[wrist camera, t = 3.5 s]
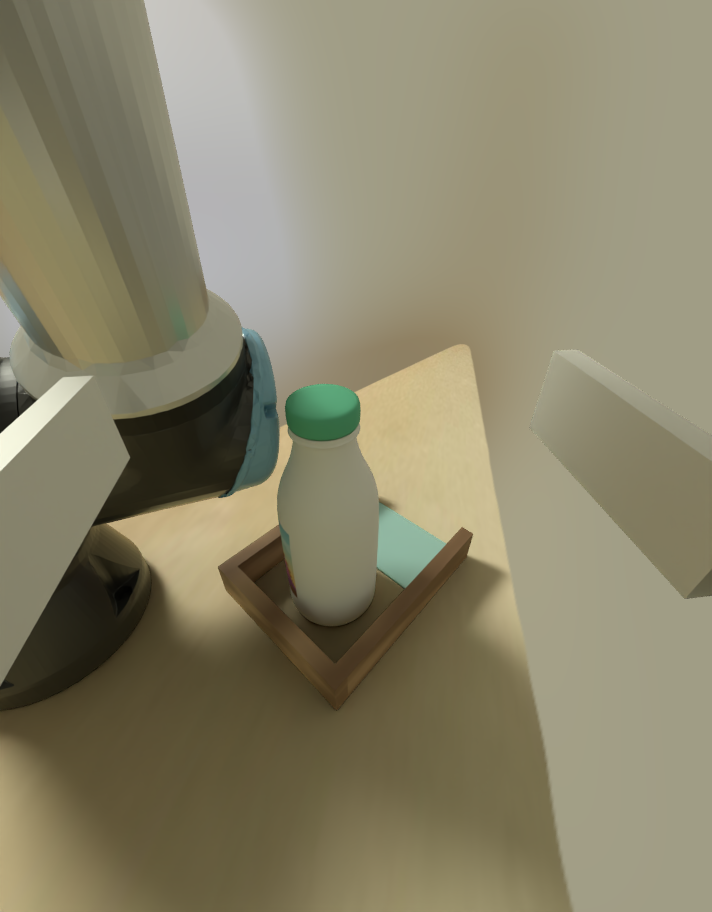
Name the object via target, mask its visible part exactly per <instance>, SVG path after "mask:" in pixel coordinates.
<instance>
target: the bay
mask: <svg viewBox="0 0 712 912" xmlns="http://www.w3.org/2000/svg"><path fill="white" fill-rule="evenodd" d="M472 536H473V533H471V532H469V531H468V530H466V529H464V528H461V529H460V530H459V531H458V532H457V533H456V534H455V535H454V536H453V537H452V539H451V540H450V541H449V542H448V543H447V544H446V545H445V546H444V547H443V548H442V549H441V550H440V551H439V553H438V554H437V555H436V556H435V557H434V558H433V559H432V560H431V561H430V562H429V563H428V564H427V566H426V567H425V568H424V569H423V570H422V571H421V572H420V573H419V574H418V575H417V576H416V577H415V578H414V580H413V581H412V582H411V583H410V584H409V585H408V586H407V587H406V588H405V589H404V590H403V591H402V593H401V594H400V595H399V596H398V597H397V598H396V599H395V600H394V601H393V602H392V603H391V604H390V605H389V607H388V608H387V609H386V610H385V611H384V612H383V613H382V614H381V615H380V616H379V617H378V618H377V619H376V621H375V622H374V623H373V624H372V625H371V626H370V627H369V628H368V629H367V630H366V631H365V632H364V634H363V635H362V636H361V637H360V638H359V639H358V640H357V641H356V642H355V643H354V644H353V645H352V646H351V648H350V649H349V650H348V651H347V652H346V653H345V654H344V655H343V656H342V657H341V658H340V659H339V661H338V662H337V663H336V664H334V663H333V662H332V661H331V660H330V659H329V658H328V657H327V656H326V655H325V654H324V653H323V652H322V651H321V650H320V649H319V648H318V647H317V646H316V644H315V643H314V642H313V641H312V640H311V639H310V638H309V637H308V636H307V635H306V634H305V633H304V632H303V631H302V630H301V629H300V628H299V627H298V626H297V625H296V624H295V623H294V622H293V621H292V620H291V619H290V618H289V617H288V616H287V615H286V614H285V613H284V612H283V611H282V610H281V609H280V608H279V607H278V606H277V605H276V604H275V603H274V602H273V601H272V600H271V599H270V598H269V597H268V596H267V595H266V594H265V593H264V592H263V591H262V590H261V589H260V588H259V587H258V586H257V585H256V584H255V583H254V582H255V581H256V580H258V579H259V578H260V577H262V576H263V575H264V574H265V573H267V572H268V571H269V570H271V569H272V568H273V567H275V566H276V565H277V564H278V563H280V562H281V561H282V560H284V559H285V558H284V552H283V546H282V540H281V534H280V528H279V525H277V526H276V527H274V528H273V529H272V530H270V531H269V532H267V533H266V534H264V535H263V536H261V537H260V538H259V539H257V540H256V541H254V542H253V543H251V544H250V545H249V546H247V547H246V548H244V549H243V550H241V551H240V552H238V553H237V554H236V555H234V556H233V557H231V558H230V559H228V560H227V561H225V562H224V563H223V564H221V565H220V566H218V569H219V572H220V575H221V578H222V580H223V583H224V586H225V589H226V591H227V592H228V593H229V594H230V595H231V596H232V597H233V598H234V600H235V601H236V602H237V603H238V604H239V605H240V606H241V607H242V608H243V609H244V610H245V612H246V613H247V614H248V615H249V616H250V617H251V618H252V619H253V620H254V621H255V622H256V624H257V625H258V626H259V627H260V628H261V629H262V630H263V631H264V632H265V633H266V634H267V636H268V637H269V638H270V639H271V640H272V641H273V642H274V643H275V644H276V645H277V646H278V648H279V649H280V650H281V651H282V652H283V653H284V654H285V655H286V656H287V657H288V658H289V660H290V661H291V662H292V663H293V664H294V665H295V666H296V667H297V668H298V669H299V670H300V672H301V673H302V674H303V675H304V676H305V677H306V678H307V679H308V680H309V681H310V683H311V684H312V685H313V686H314V687H315V688H316V689H317V690H318V691H319V692H320V693H321V695H322V696H323V697H324V698H325V699H326V700H327V701H328V702H329V703H330V704H331V705H332V707H333V708H334V709H335V710H336V711H337V710H338V709H339V707H340V706H341V705H342V704H343V703H344V702H345V700H346V699H347V698H348V697H349V696H350V694H351V693H352V692H353V691H354V690H355V688H356V687H357V686H358V685H359V684H360V683H361V681H362V680H363V679H364V678H365V677H366V675H367V674H368V673H369V672H370V671H371V670H372V668H373V667H374V666H375V665H376V664H377V662H378V661H379V660H380V659H381V658H382V657H383V655H384V654H385V653H386V652H387V651H388V649H389V648H390V647H391V646H392V645H393V644H394V642H395V641H396V640H397V639H398V638H399V636H400V635H401V634H402V633H403V632H404V630H405V629H406V628H407V627H408V626H409V625H410V623H411V622H412V621H413V620H414V619H415V617H416V616H417V615H418V614H419V613H420V612H421V610H422V609H423V608H424V607H425V606H426V604H427V603H428V602H429V601H430V600H431V599H432V597H433V596H434V595H435V594H436V593H437V591H438V590H439V589H440V588H441V587H442V586H443V584H444V583H445V582H446V581H447V580H448V578H449V577H450V576H451V575H452V574H453V572H454V571H455V570H456V569H457V568H458V567H459V565H460V564H461V563H462V562H463V561H464V559H465V558H466V557H467V554H468V550H469V547H470V543H471V540H472Z"/></svg>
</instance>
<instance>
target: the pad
mask: <svg viewBox="0 0 712 912" xmlns="http://www.w3.org/2000/svg"><path fill="white" fill-rule="evenodd" d="M445 545H446V543H444V542H442V541H441V540H439V539H438V538H436V537H434V536H433V535H431V534H430V533H428V532H427V531H425V530H423V529H422V528H420V527H419V526H417V525H415V524H414V523H412V522H411V521H409V520H407V519H406V518H404V517H403V516H401V515H399V514H398V513H396V512H395V511H393V510H391V509H390V508H388V507H387V506H385V505H383V504H382V503H380V502H379V530H378V551H377V569H379V570H380V571H381V572H383V573H384V574H385V575H387V576H388V577H389V578H391V579H392V580H393V581H395V582H396V583H397V584H399V585H400V586H401V587H403V588H404V589H405V588H406V587H407V586H408V585H409V584H410V583H411V582H412V581H413V580H414V578H415V577H416V576H417V575H418V574H419V573H420V572H421V571H422V570H423V569H424V568H425V567H426V566H427V564H428V563H429V562H430V561H431V560H432V559H433V558H434V557H435V556H436V555H437V554H438V553H439V551H440V550H441V549H442V548H443V547H444V546H445Z"/></svg>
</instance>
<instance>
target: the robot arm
mask: <svg viewBox="0 0 712 912" xmlns="http://www.w3.org/2000/svg"><path fill="white" fill-rule="evenodd" d="M0 296H1V298H2V299H3V301H4V302H5V303H6V305H7V306H8V308H9V309H10V311H11V312H12V313H13V315H14V316H15V318H16V319H17V320H18V322H19V323H20V325H21V326H20V328H19V329H18V331H17V332H16V335H15V337H14V339H13V341H12V344H11V348H10V357H8V358H1V357H0V710H5V709H12V708H17V707H21V706H25V705H28V704H31V703H35V702H37V701H40V700H43V699H45V698H47V697H50V696H52V695H54V694H56V693H58V692H60V691H62V690H64V689H66V688H68V687H69V686H71V685H73V684H74V683H76V682H78V681H79V680H81V679H82V678H84V677H85V676H87V675H88V674H89V673H91V672H92V671H93V670H95V669H96V668H97V667H98V666H100V665H101V664H102V663H103V662H104V661H106V660H107V659H108V658H109V657H110V656H111V655H112V654H113V653H114V652H115V651H116V650H117V649H118V648H119V647H120V646H121V645H122V644H123V642H124V641H125V640H126V639H127V638H128V636H129V635H130V634H131V632H132V631H133V629H134V628H135V626H136V625H137V623H138V622H139V620H140V618H141V616H142V614H143V612H144V610H145V608H146V605H147V603H148V600H149V596H150V591H151V574H150V570H149V568H148V565H147V563H146V562H145V560H144V558H143V556H142V554H141V552H140V551H139V549H138V548H137V547H136V545H135V544H134V543H133V542H132V541H131V540H129V539H128V538H127V537H125V536H124V535H122V534H121V533H119V532H118V531H116V530H115V529H113V528H112V527H111V526H109V525H108V524H106V523H110V522H114V521H118V520H122V519H126V518H130V517H134V516H138V515H143V514H147V513H151V512H155V511H159V510H163V509H168V508H172V507H176V506H181V505H185V504H190V503H194V502H198V501H203V500H207V499H212V498H216V497H218V498H223V497H228V496H230V495H232V494H234V493H235V492H236V491H240V490H243V489H246V488H250V487H253V486H257V485H259V484H261V483H263V482H265V481H266V480H267V479H268V478H269V477H270V476H271V474H272V473H273V471H274V469H275V466H276V463H277V459H278V452H279V417H278V414H277V411H276V403H277V396H276V387H275V381H274V375H273V371H272V366H271V362H270V358H269V356H268V352H267V349H266V347H265V344H264V342H263V340H262V338H261V337H260V336H259V334H258V333H257V332H255V331H254V330H251V329H245V328H242V327H241V323H240V321H239V318H238V316H237V315H236V313H235V312H234V310H233V309H232V308H231V306H230V305H229V304H228V303H227V302H225V301H224V300H223V299H222V298H221V297H219V296H218V295H216V294H215V293H213V292H211V291H209V290H207V289H206V285H205V281H204V276H203V272H202V267H201V263H200V258H199V253H198V249H197V244H196V239H195V235H194V230H193V225H192V221H191V216H190V212H189V207H188V202H187V198H186V193H185V189H184V184H183V179H182V175H181V170H180V165H179V161H178V156H177V152H176V147H175V143H174V138H173V133H172V128H171V124H170V119H169V115H168V110H167V105H166V101H165V96H164V92H163V87H162V82H161V78H160V73H159V68H158V64H157V60H156V55H155V51H154V45H153V41H152V36H151V32H150V27H149V22H148V18H147V13H146V8H145V4H144V0H0ZM529 428H530V429H531V430H532V431H533V432H534V434H535V435H536V436H537V437H538V438H539V439H540V440H541V441H542V442H543V443H544V445H545V446H546V447H547V448H548V449H549V450H550V451H551V452H552V453H553V454H554V456H555V457H556V458H557V459H558V460H559V461H560V462H561V463H562V464H563V465H564V467H565V468H566V469H567V470H568V471H569V472H570V473H571V474H572V475H573V477H574V478H575V479H576V480H577V481H578V482H579V483H580V484H581V485H582V486H583V487H584V488H585V490H586V491H587V492H588V493H589V494H590V495H591V496H592V497H593V498H594V500H595V501H596V502H597V503H598V504H599V505H600V506H601V507H602V508H603V510H604V511H605V512H606V513H607V514H608V515H609V516H610V517H611V518H612V519H613V521H614V522H615V523H616V524H617V525H618V526H619V527H620V528H621V529H622V531H624V533H625V534H626V535H627V536H628V537H629V538H630V539H631V540H632V541H633V542H634V544H635V545H636V546H637V547H638V548H639V549H640V550H641V551H642V552H643V554H644V555H645V556H646V557H647V558H648V559H649V560H650V561H651V562H652V564H653V565H654V566H655V567H656V568H657V569H658V570H659V571H660V572H661V573H662V575H663V576H664V577H665V578H666V579H667V580H668V581H669V582H670V583H671V585H672V586H673V587H674V588H675V589H676V590H677V591H678V592H679V593H680V594H681V596H682V597H683V598H684V599H689V598H697V597H704V596H712V435H711V434H709V433H708V432H706V431H704V430H703V429H701V428H700V427H698V426H697V425H695V424H693V423H692V422H690V421H689V420H687V419H686V418H684V417H683V416H681V415H679V414H678V413H676V412H675V411H673V410H672V409H670V408H668V407H667V406H665V405H664V404H662V403H661V402H659V401H657V400H656V399H654V398H653V397H651V396H649V395H648V394H646V393H645V392H643V391H642V390H640V389H639V388H637V387H635V386H634V385H632V384H631V383H629V382H628V381H626V380H624V379H623V378H621V377H619V376H618V375H617V374H615V373H614V372H612V371H610V370H609V369H607V368H605V367H604V366H603V365H601V364H599V363H598V362H596V361H595V360H593V359H592V358H590V357H588V356H587V355H585V354H584V353H582V352H581V351H579V350H559V351H554V352H553V355H552V358H551V361H550V364H549V368H548V371H547V374H546V377H545V380H544V383H543V386H542V389H541V393H540V396H539V399H538V402H537V405H536V408H535V411H534V414H533V417H532V421H531V424H530V427H529Z"/></svg>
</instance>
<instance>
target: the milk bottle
mask: <svg viewBox="0 0 712 912" xmlns="http://www.w3.org/2000/svg"><path fill="white" fill-rule="evenodd" d="M285 412H286V420H287V424H288V434H289V436H290V438H291V439H292V440H293V445H292V450H291V454H290V458H289V460H288V463H287V465H286V467H285V470H284V472H283V474H282V477H281V480H280V484H279V488H278V495H277V511H278V520H279V528H280V534H281V540H282V546H283V552H284V558H285V564H286V570H287V575H288V581H289V586H290V592H291V596H292V600H293V603H294V605H295V607H296V608H297V610H298V611H299V612H300V613H301V614H302V615H303V616H304V617H305V618H307V619H308V620H310V621H311V622H314V623H316V624H319V625H324V626H339V625H345V624H347V623H349V622H352V621H354V620H355V619H357V618H358V617H360V616H361V615H362V614H363V613H364V612H365V611H366V610H367V608H368V607H369V606H370V604H371V602H372V600H373V597H374V593H375V584H376V569H377V551H378V530H379V498H378V490H377V486H376V482H375V479H374V477H373V474H372V472H371V470H370V468H369V466H368V464H367V463H366V461H365V459H364V457H363V456H362V454H361V451H360V449H359V446H358V443H357V438H356V437H357V435H358V434H359V431H360V424H359V422H360V402H359V398H358V396H357V395H356V394H355V393H354V392H353V391H351V390H349V389H348V388H345V387H342V386H339V385H333V384H317V385H310V386H307V387H303V388H301V389H299V390H297V391H295V392H293V393H292V394H291V395H290V396H289V397H288V399H287V400H286V406H285Z"/></svg>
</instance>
